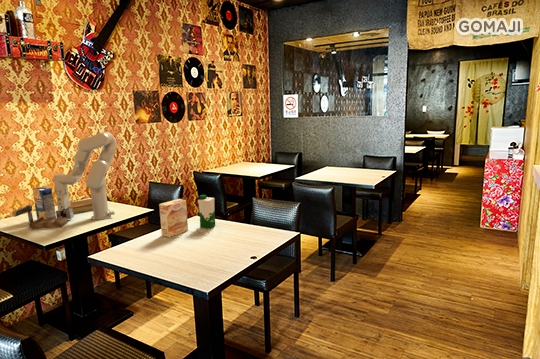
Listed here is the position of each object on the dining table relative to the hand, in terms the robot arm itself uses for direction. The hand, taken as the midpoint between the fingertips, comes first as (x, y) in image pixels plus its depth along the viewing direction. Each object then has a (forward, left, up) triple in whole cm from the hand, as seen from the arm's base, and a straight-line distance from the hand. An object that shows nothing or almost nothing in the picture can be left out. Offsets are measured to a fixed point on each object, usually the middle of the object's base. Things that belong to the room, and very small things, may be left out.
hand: (65, 217), depth 260 cm
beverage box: (+14, -4, -2) cm, 15 cm away
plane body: (+5, +12, -2) cm, 13 cm away
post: (+16, +12, -2) cm, 20 cm away
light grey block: (0, 0, 0) cm, 0 cm away
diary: (-2, -27, -3) cm, 27 cm away
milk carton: (-98, +31, -2) cm, 103 cm away
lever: (+17, +18, +10) cm, 27 cm away
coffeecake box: (-79, +40, -2) cm, 88 cm away
